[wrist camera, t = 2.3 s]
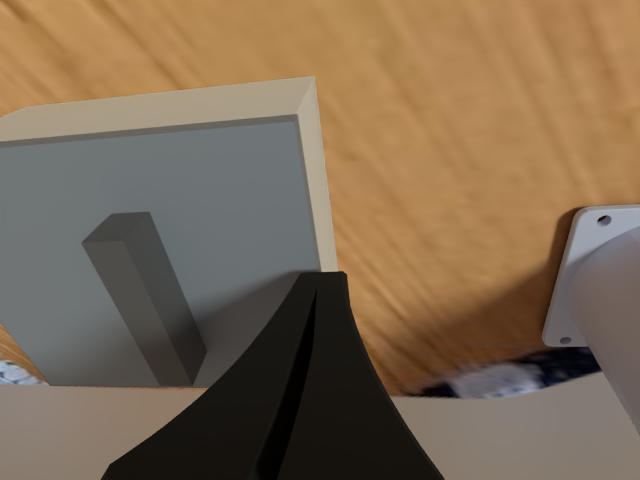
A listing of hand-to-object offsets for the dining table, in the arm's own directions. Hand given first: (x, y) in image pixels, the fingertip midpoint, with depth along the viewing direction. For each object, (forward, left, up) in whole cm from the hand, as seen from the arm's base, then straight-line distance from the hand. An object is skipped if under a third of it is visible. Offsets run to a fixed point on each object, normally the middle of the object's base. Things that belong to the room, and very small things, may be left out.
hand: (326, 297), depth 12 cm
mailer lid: (+6, 0, -1) cm, 6 cm away
